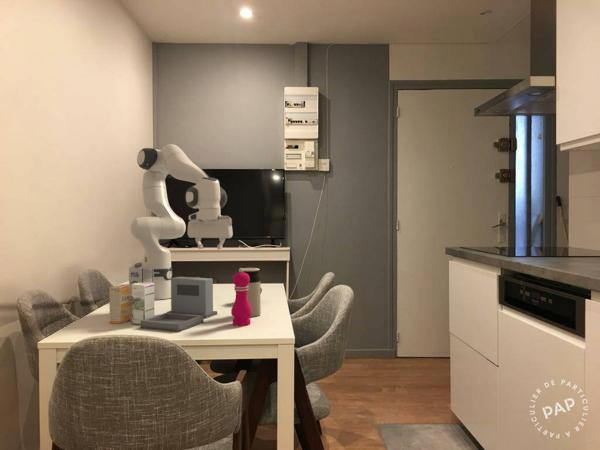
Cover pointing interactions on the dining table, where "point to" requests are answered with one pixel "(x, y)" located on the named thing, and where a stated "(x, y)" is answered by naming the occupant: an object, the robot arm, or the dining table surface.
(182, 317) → the parts tray
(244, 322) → the red pepper mill
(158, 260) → the robot arm
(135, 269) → the milk carton
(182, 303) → the control unit
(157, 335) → the dining table surface
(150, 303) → the syrup box
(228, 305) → the dining table surface
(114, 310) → the supplement box
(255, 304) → the travel mug
